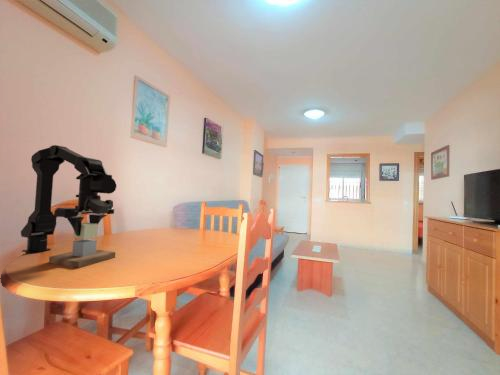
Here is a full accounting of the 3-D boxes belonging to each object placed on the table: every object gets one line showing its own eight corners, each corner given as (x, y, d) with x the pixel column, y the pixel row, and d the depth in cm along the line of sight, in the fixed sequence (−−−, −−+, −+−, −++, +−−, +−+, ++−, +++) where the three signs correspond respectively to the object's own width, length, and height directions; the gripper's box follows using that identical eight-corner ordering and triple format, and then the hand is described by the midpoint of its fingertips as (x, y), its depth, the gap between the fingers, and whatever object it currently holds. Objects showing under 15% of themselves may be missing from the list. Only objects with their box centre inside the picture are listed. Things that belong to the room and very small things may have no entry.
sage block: (73, 237, 83) (74, 223, 83) (86, 235, 87) (87, 222, 88) (83, 239, 81) (84, 225, 81) (96, 236, 86) (97, 223, 86)
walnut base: (49, 262, 79) (49, 256, 79) (87, 253, 93) (88, 248, 93) (78, 268, 75) (79, 262, 75) (115, 257, 89) (115, 252, 89)
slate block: (72, 255, 82) (73, 241, 83) (85, 252, 87) (86, 238, 87) (82, 256, 81) (83, 242, 81) (95, 253, 86) (96, 240, 86)
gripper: (79, 192, 74) (75, 241, 73) (126, 193, 91) (123, 233, 91) (54, 191, 77) (51, 238, 76) (104, 192, 95) (101, 230, 94)
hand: (85, 234), depth 84 cm, fingers closed on sage block, 5 cm apart
